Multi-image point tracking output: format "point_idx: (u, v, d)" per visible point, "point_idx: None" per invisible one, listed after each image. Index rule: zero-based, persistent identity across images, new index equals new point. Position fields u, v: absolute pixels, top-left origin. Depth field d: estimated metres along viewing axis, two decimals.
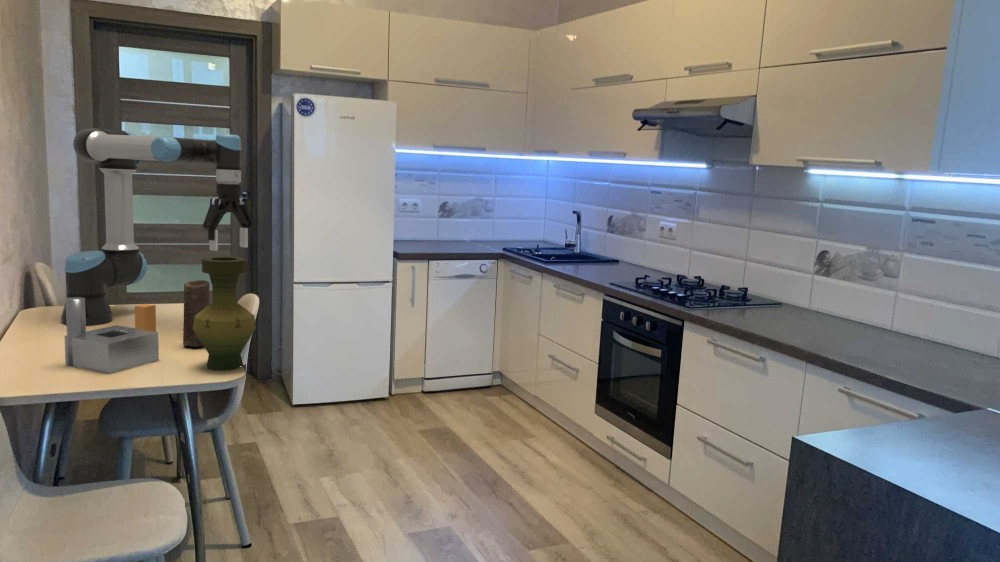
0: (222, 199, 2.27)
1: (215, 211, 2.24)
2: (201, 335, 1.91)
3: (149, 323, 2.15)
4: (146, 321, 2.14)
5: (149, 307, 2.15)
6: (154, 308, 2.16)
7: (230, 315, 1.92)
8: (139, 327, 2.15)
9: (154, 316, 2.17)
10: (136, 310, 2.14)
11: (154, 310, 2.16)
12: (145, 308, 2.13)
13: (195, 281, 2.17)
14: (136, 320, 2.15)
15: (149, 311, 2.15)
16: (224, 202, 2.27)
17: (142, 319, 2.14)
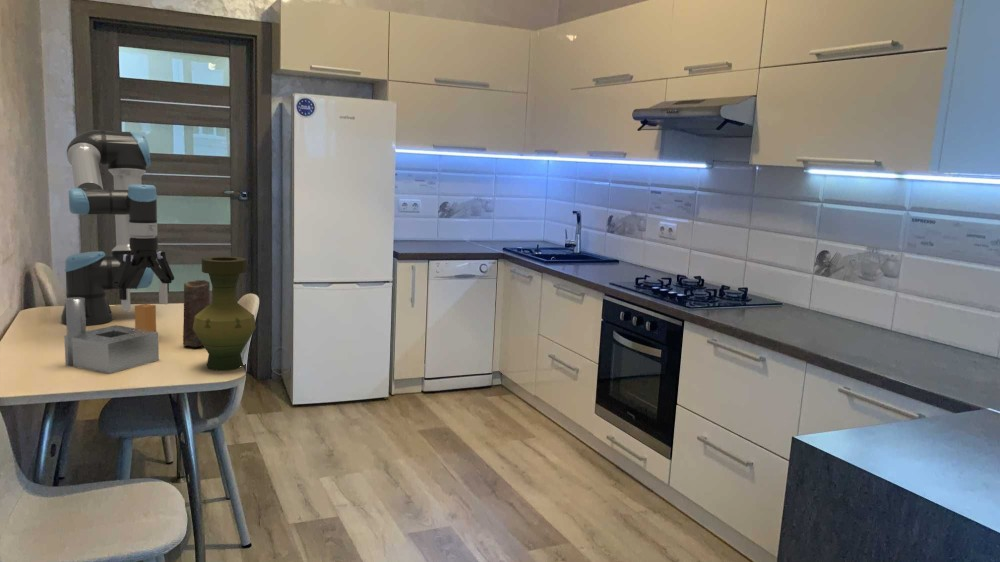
0: (135, 255, 2.09)
1: (126, 268, 2.07)
2: (201, 335, 1.91)
3: (149, 323, 2.15)
4: (146, 321, 2.14)
5: (149, 307, 2.15)
6: (154, 308, 2.16)
7: (230, 315, 1.92)
8: (139, 327, 2.15)
9: (154, 316, 2.17)
10: (136, 310, 2.14)
11: (154, 310, 2.16)
12: (145, 308, 2.13)
13: (195, 281, 2.17)
14: (136, 320, 2.15)
15: (149, 311, 2.15)
16: (137, 258, 2.10)
17: (142, 319, 2.14)
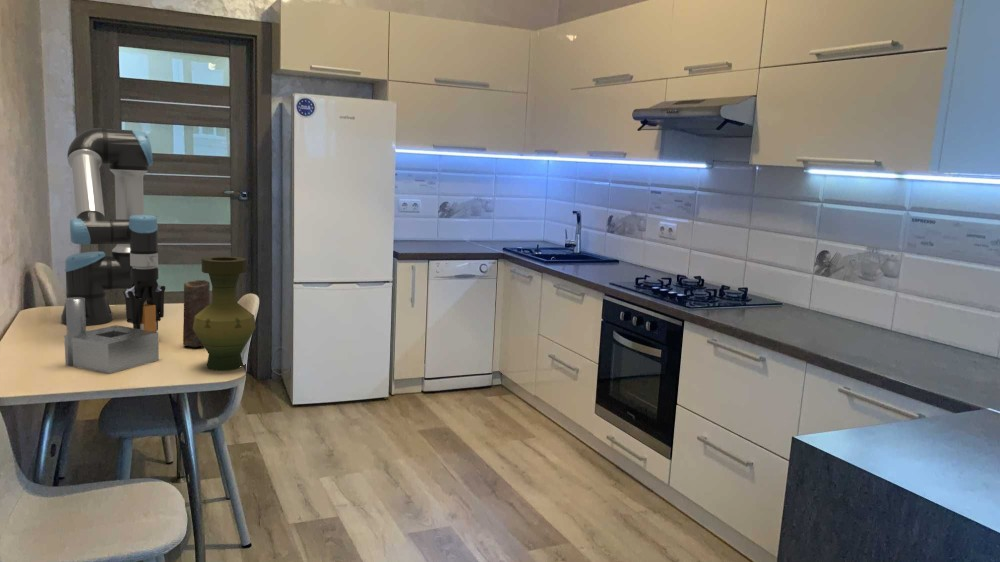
0: (135, 287, 2.11)
1: (133, 304, 2.10)
2: (201, 335, 1.91)
3: (149, 323, 2.15)
4: (146, 321, 2.14)
5: (149, 307, 2.15)
6: (154, 308, 2.16)
7: (230, 315, 1.92)
8: None
9: (154, 316, 2.17)
10: None
11: (154, 310, 2.16)
12: (145, 308, 2.13)
13: (195, 281, 2.17)
14: None
15: (149, 311, 2.15)
16: (139, 288, 2.12)
17: (142, 319, 2.14)
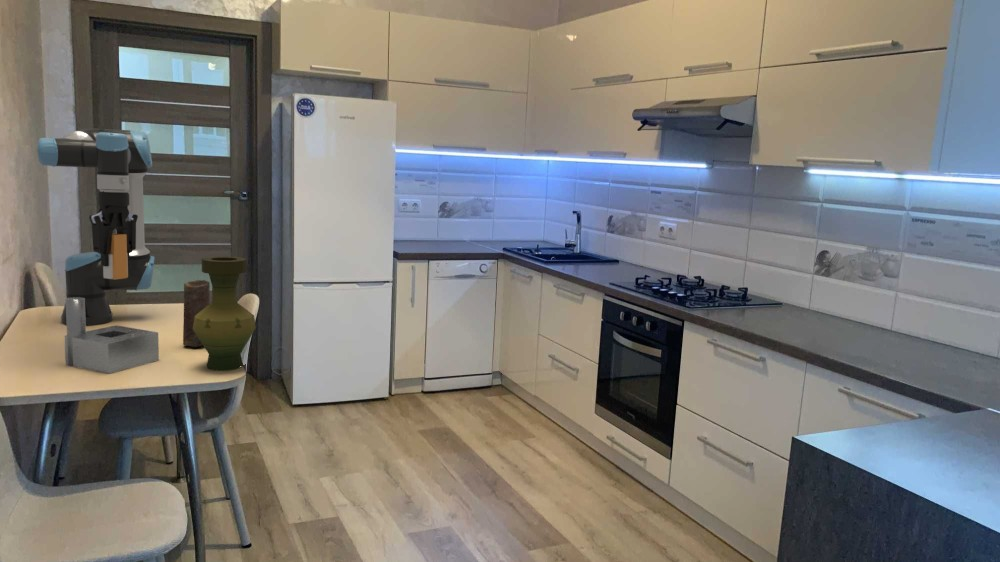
0: (103, 212, 1.89)
1: (100, 230, 1.89)
2: (201, 335, 1.91)
3: (119, 254, 1.94)
4: (115, 251, 1.92)
5: (119, 236, 1.93)
6: (125, 237, 1.95)
7: (230, 315, 1.92)
8: None
9: (125, 247, 1.95)
10: None
11: (124, 240, 1.95)
12: (114, 236, 1.92)
13: (195, 281, 2.17)
14: None
15: (120, 240, 1.93)
16: (107, 214, 1.90)
17: (111, 249, 1.92)
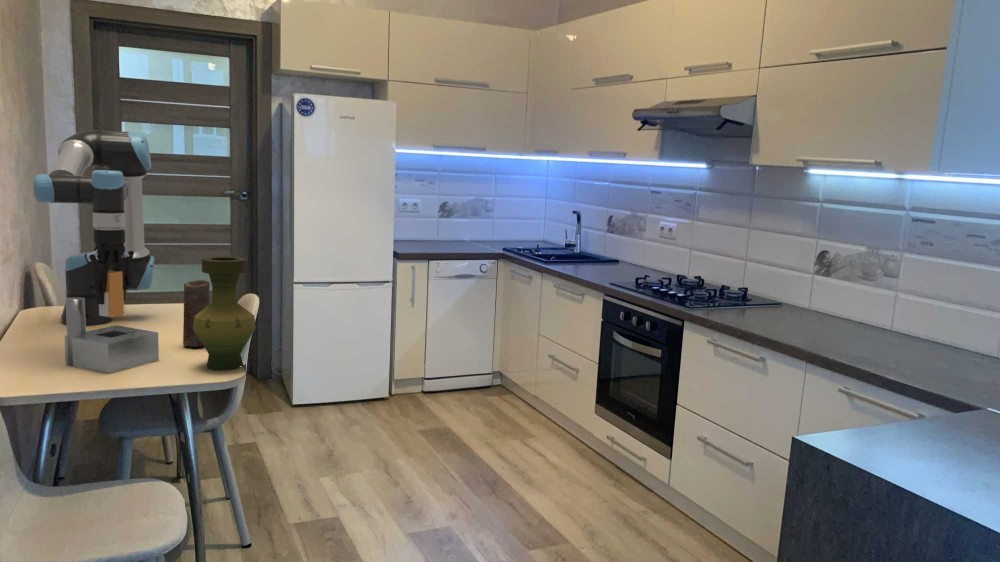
0: (98, 250, 1.88)
1: (96, 269, 1.87)
2: (201, 335, 1.91)
3: (115, 291, 1.93)
4: (111, 289, 1.91)
5: (115, 273, 1.92)
6: (121, 275, 1.94)
7: (230, 315, 1.92)
8: None
9: (121, 284, 1.94)
10: None
11: (120, 277, 1.94)
12: (110, 274, 1.91)
13: (195, 281, 2.17)
14: None
15: (115, 278, 1.92)
16: (102, 252, 1.89)
17: (107, 286, 1.91)
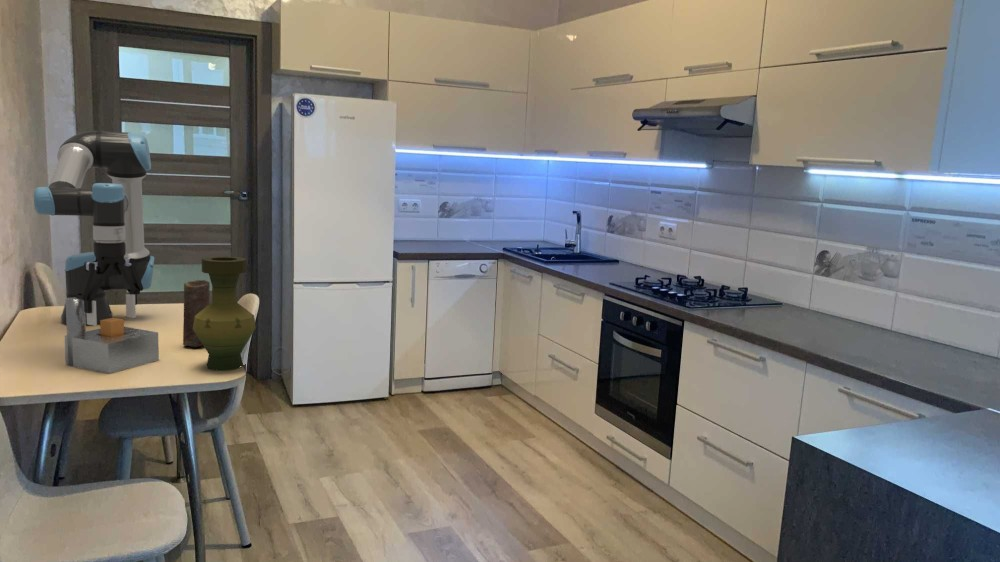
0: (99, 262, 1.89)
1: (90, 278, 1.86)
2: (201, 335, 1.91)
3: None
4: None
5: (116, 322, 1.94)
6: (122, 323, 1.96)
7: (230, 315, 1.92)
8: None
9: (122, 331, 1.96)
10: (102, 325, 1.94)
11: (122, 325, 1.96)
12: (111, 323, 1.93)
13: (195, 281, 2.17)
14: None
15: (117, 326, 1.94)
16: (103, 265, 1.89)
17: (108, 335, 1.93)
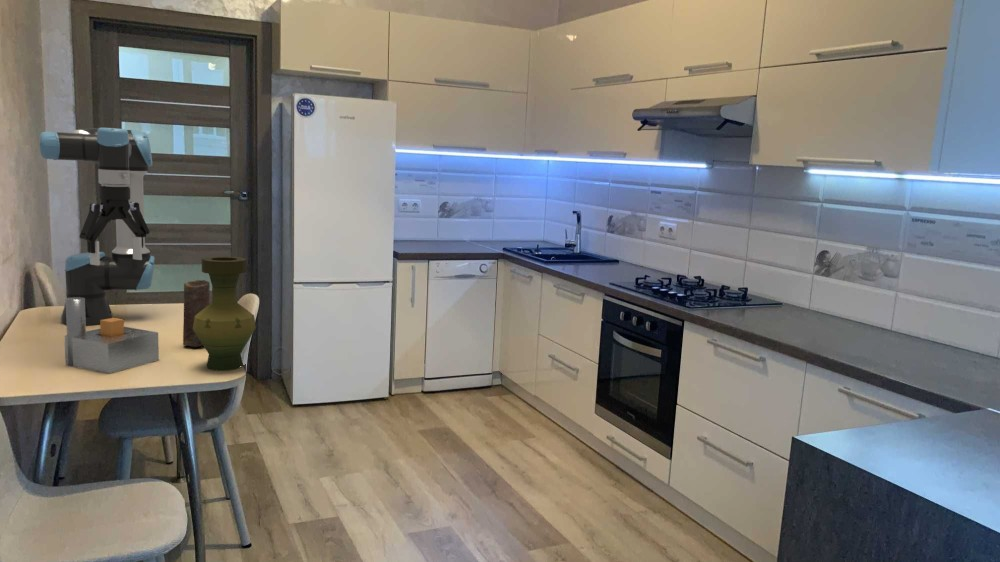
0: (105, 204, 1.93)
1: (95, 219, 1.90)
2: (201, 335, 1.91)
3: None
4: None
5: (116, 322, 1.94)
6: (122, 323, 1.96)
7: (230, 315, 1.92)
8: None
9: (122, 331, 1.96)
10: (102, 325, 1.94)
11: (122, 325, 1.96)
12: (111, 323, 1.93)
13: (195, 281, 2.17)
14: None
15: (117, 326, 1.94)
16: (108, 208, 1.93)
17: (108, 335, 1.93)
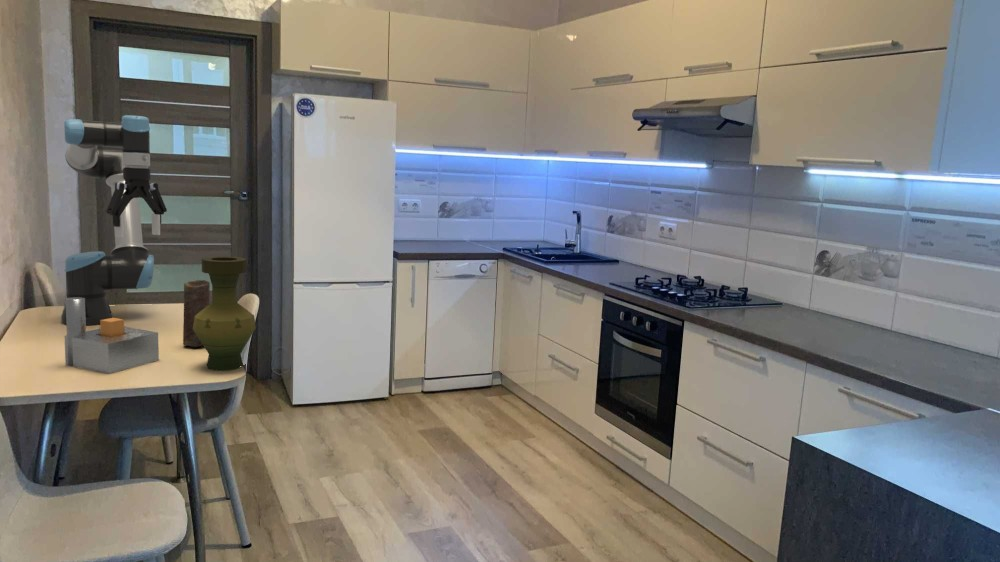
0: (128, 184, 2.16)
1: (120, 196, 2.14)
2: (201, 335, 1.91)
3: None
4: None
5: (116, 322, 1.94)
6: (122, 323, 1.96)
7: (230, 315, 1.92)
8: None
9: (122, 331, 1.96)
10: (102, 325, 1.94)
11: (122, 325, 1.96)
12: (111, 323, 1.93)
13: (195, 281, 2.17)
14: None
15: (117, 326, 1.94)
16: (131, 187, 2.17)
17: (108, 335, 1.93)
